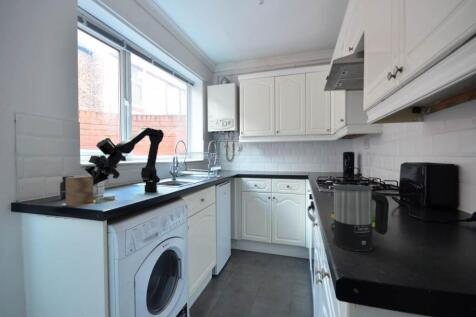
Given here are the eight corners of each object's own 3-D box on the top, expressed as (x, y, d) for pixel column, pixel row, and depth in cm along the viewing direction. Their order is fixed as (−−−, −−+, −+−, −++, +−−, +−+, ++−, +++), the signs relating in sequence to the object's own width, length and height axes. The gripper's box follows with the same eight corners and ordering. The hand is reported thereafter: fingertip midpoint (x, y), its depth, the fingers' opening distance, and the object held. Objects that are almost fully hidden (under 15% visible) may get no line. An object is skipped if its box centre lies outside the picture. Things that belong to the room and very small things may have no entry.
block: (85, 201, 103) (84, 176, 103) (93, 202, 101) (93, 176, 100) (65, 205, 96) (65, 177, 96) (74, 206, 93) (73, 178, 93)
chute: (102, 199, 115) (102, 193, 115) (121, 201, 109) (121, 195, 109) (60, 206, 98) (60, 199, 98) (80, 209, 92) (80, 202, 92)
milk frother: (354, 255, 50) (355, 190, 50) (307, 233, 65) (307, 182, 65) (394, 245, 56) (395, 186, 56) (342, 227, 70) (343, 180, 70)
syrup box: (105, 194, 129) (104, 169, 129) (97, 196, 123) (97, 170, 123) (95, 194, 130) (95, 169, 130) (88, 195, 124) (87, 170, 124)
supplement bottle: (59, 201, 109) (59, 177, 109) (59, 199, 114) (59, 176, 114) (76, 199, 114) (76, 176, 114) (75, 197, 119) (75, 175, 119)
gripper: (88, 150, 111) (63, 173, 101) (113, 149, 103) (89, 175, 93) (104, 165, 118) (82, 188, 108) (128, 165, 110) (107, 191, 100)
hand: (89, 185), depth 102 cm, fingers closed, pressing on block
